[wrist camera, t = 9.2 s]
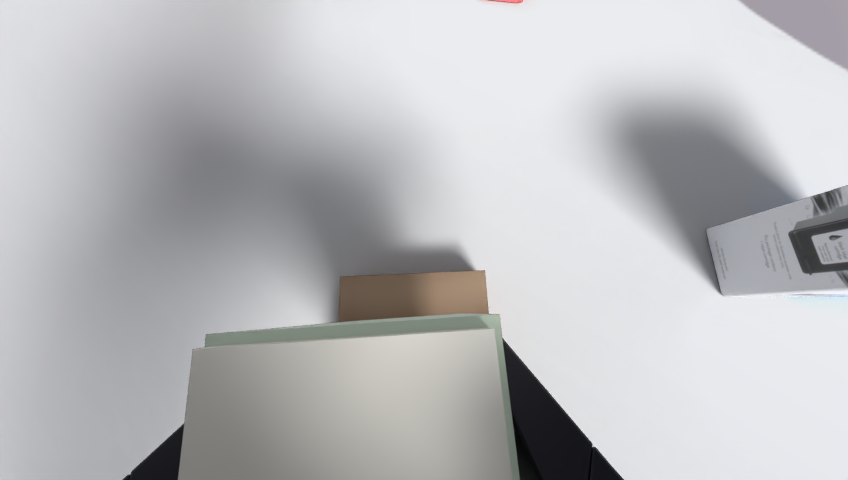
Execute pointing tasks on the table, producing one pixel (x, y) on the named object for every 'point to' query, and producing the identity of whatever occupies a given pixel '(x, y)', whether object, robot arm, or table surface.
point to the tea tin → (352, 402)
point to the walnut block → (412, 295)
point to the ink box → (785, 250)
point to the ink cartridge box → (514, 0)
